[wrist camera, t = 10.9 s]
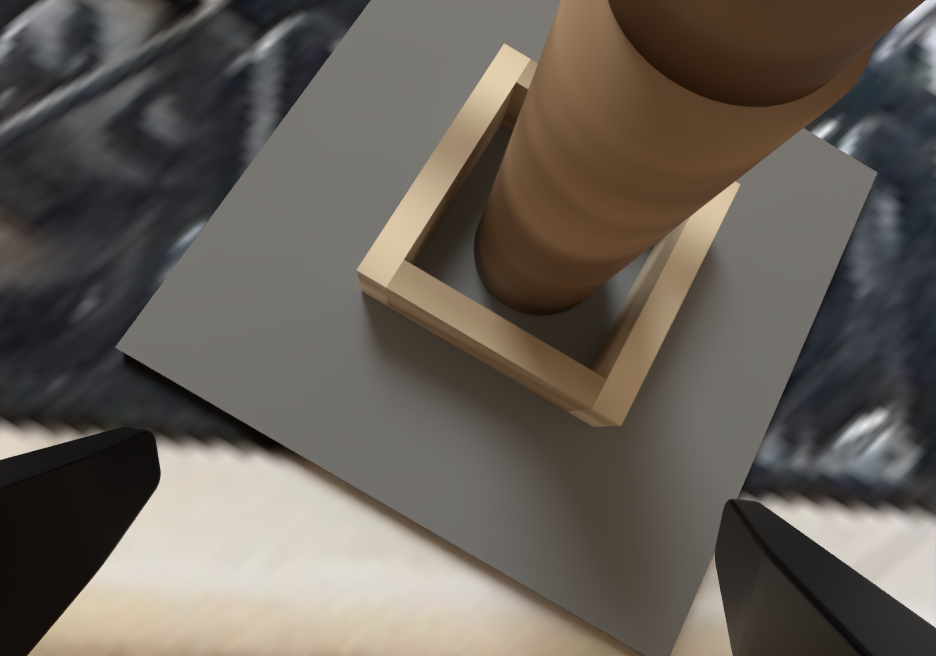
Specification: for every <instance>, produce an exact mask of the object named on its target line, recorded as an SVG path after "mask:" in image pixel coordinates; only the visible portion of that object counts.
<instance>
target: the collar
mask: <svg viewBox="0 0 936 656" xmlns="http://www.w3.org/2000/svg"><path fill="white" fill-rule="evenodd" d="M537 65H538V63H536V62H535V61H533V60H531V59H530V58H528V57H526V56H525V55H523V54H521V53H520V52H518V51H516V50H515V49H513V48H511V47H510V46H508V45H506V44H505V43H504V44H503V46H502V47H501V49H500V51H499V52H498V54H497V55H496V57H495V58H494V60H493V61H492V63H491V64H490V66H489V67H488V69H487V70H486V72H485V74H484V75H483V77H482V78H481V80H480V81H479V83H478V84H477V86H476V87H475V89H474V90H473V92H472V93H471V95H470V97H469V98H468V100H467V101H466V103H465V104H464V106H463V107H462V109H461V110H460V112H459V113H458V115H457V117H456V118H455V120H454V121H453V123H452V124H451V126H450V127H449V129H448V130H447V132H446V133H445V135H444V136H443V138H442V140H441V141H440V143H439V144H438V146H437V147H436V149H435V150H434V152H433V153H432V155H431V156H430V158H429V159H428V161H427V163H426V164H425V166H424V167H423V169H422V170H421V172H420V173H419V175H418V176H417V178H416V179H415V181H414V183H413V184H412V186H411V187H410V189H409V190H408V192H407V193H406V195H405V196H404V198H403V199H402V201H401V202H400V204H399V206H398V207H397V209H396V210H395V212H394V213H393V215H392V216H391V218H390V219H389V221H388V222H387V224H386V225H385V227H384V229H383V230H382V232H381V233H380V235H379V236H378V238H377V239H376V241H375V242H374V244H373V245H372V247H371V249H370V250H369V252H368V253H367V255H366V256H365V258H364V259H363V261H362V262H361V264H360V265H359V267H358V268H357V274H358V279H359V283H360V287H361V291H362V292H364V293H366V294H368V295H369V296H371V297H373V298H374V299H376V300H378V301H379V302H381V303H383V304H385V305H386V306H388V307H390V308H391V309H393V310H395V311H396V312H398V313H400V314H402V315H403V316H405V317H407V318H408V319H410V320H412V321H413V322H415V323H417V324H419V325H420V326H422V327H424V328H425V329H427V330H429V331H430V332H432V333H434V334H436V335H437V336H439V337H441V338H442V339H444V340H446V341H447V342H449V343H451V344H453V345H454V346H456V347H458V348H459V349H461V350H463V351H465V352H466V353H468V354H470V355H471V356H473V357H475V358H476V359H478V360H480V361H482V362H483V363H485V364H487V365H488V366H490V367H492V368H493V369H495V370H497V371H499V372H500V373H502V374H504V375H505V376H507V377H509V378H510V379H512V380H514V381H516V382H517V383H519V384H521V385H522V386H524V387H526V388H527V389H529V390H531V391H533V392H534V393H536V394H538V395H539V396H541V397H543V398H544V399H546V400H548V401H550V402H551V403H553V404H555V405H556V406H558V407H560V408H561V409H563V410H565V411H567V412H568V413H570V414H572V415H573V416H575V417H577V418H578V419H580V420H582V421H584V422H585V423H587V424H589V425H590V426H592V427H604V426H621V425H622V423H623V421H624V419H625V417H626V415H627V413H628V411H629V409H630V407H631V405H632V403H633V401H634V399H635V397H636V395H637V393H638V391H639V389H640V387H641V385H642V383H643V381H644V379H645V377H646V375H647V373H648V371H649V369H650V367H651V365H652V363H653V361H654V359H655V357H656V355H657V353H658V350H659V348H660V346H661V344H662V342H663V340H664V338H665V336H666V334H667V332H668V330H669V328H670V326H671V324H672V322H673V320H674V318H675V316H676V314H677V312H678V310H679V308H680V306H681V304H682V302H683V300H684V298H685V296H686V294H687V292H688V290H689V288H690V286H691V284H692V282H693V280H694V278H695V276H696V274H697V271H698V269H699V267H700V265H701V263H702V261H703V259H704V257H705V255H706V253H707V251H708V249H709V247H710V245H711V243H712V241H713V239H714V237H715V235H716V233H717V231H718V229H719V227H720V225H721V223H722V221H723V219H724V217H725V215H726V213H727V211H728V209H729V207H730V205H731V203H732V201H733V199H734V197H735V194H736V192H737V190H738V188H739V186H740V184H739V183H737V182H736V181H735V182H734V183H733V184H731V185H730V186H729V187H727V188H726V189H725V190H724V191H722V192H721V193H720V194H718V195H717V196H716V197H715V198H713V199H712V200H711V201H709V202H708V203H707V204H706V205H704V206H703V207H702V208H700V209H699V210H698V211H697V212H695V213H694V214H693V215H692V216H690V217H689V218H688V219H686V220H685V221H684V222H683V223H681V224H680V225H679V226H677V227H676V228H675V229H674V230H672V231H671V232H670V233H668V234H667V235H666V236H665V237H663V238H662V239H661V240H660V241H658V242H657V243H656V244H654V246H653V248H652V250H651V252H650V254H649V256H648V258H647V260H646V261H645V263H644V265H643V267H642V269H641V271H640V273H639V275H638V277H637V279H636V281H635V283H634V285H633V286H632V288H631V290H630V292H629V294H628V296H627V298H626V300H625V302H624V304H623V306H622V308H621V310H620V311H619V313H618V315H617V317H616V319H615V321H614V323H613V325H612V327H611V329H610V331H609V333H608V334H607V336H606V338H605V340H604V342H603V344H602V346H601V348H600V350H599V352H598V354H597V356H596V358H595V359H594V361H593V363H592V365H591V367H590V369H589V368H587V367H585V366H584V365H582V364H580V363H578V362H577V361H575V360H573V359H572V358H570V357H568V356H567V355H565V354H563V353H562V352H560V351H558V350H556V349H555V348H553V347H551V346H550V345H548V344H546V343H545V342H543V341H541V340H539V339H538V338H536V337H534V336H533V335H531V334H529V333H528V332H526V331H524V330H522V329H521V328H519V327H517V326H516V325H514V324H512V323H511V322H509V321H507V320H506V319H504V318H502V317H500V316H499V315H497V314H495V313H494V312H492V311H490V310H489V309H487V308H485V307H483V306H482V305H480V304H478V303H477V302H475V301H473V300H472V299H470V298H468V297H467V296H465V295H463V294H461V293H460V292H458V291H456V290H455V289H453V288H451V287H450V286H448V285H446V284H444V283H443V282H441V281H439V280H438V279H436V278H434V277H433V276H431V275H429V274H427V273H426V272H424V271H422V270H421V269H419V268H417V267H416V266H414V265H413V264H414V263H415V261H416V260H417V258H418V256H419V255H420V253H421V252H422V250H423V249H424V247H425V245H426V244H427V242H428V241H429V239H430V237H431V236H432V234H433V233H434V231H435V229H436V228H437V226H438V225H439V223H440V221H441V220H442V218H443V217H444V215H445V213H446V212H447V210H448V209H449V207H450V205H451V204H452V202H453V201H454V199H455V197H456V196H457V194H458V193H459V191H460V189H461V188H462V186H463V185H464V183H465V182H466V180H467V178H468V177H469V175H470V174H471V172H472V170H473V169H474V167H475V166H476V164H477V162H478V161H479V159H480V158H481V156H482V154H483V153H484V151H485V150H486V148H487V146H488V145H489V143H490V142H491V140H492V138H493V137H494V135H495V134H496V132H497V130H498V129H499V127H500V126H501V124H502V123H503V124H504V125H506V126H508V127H509V128H511V129H513V130H514V127H515V124H516V122H517V119H518V116H519V114H520V111H521V108H522V105H523V103H524V100H525V97H526V95H527V92H528V89H529V86H530V84H531V81H532V78H533V76H534V73H535V70H536V67H537Z"/></svg>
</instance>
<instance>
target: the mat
mask: <svg viewBox="0 0 936 656" xmlns="http://www.w3.org/2000/svg"><path fill="white" fill-rule="evenodd" d="M560 2H561V0H371V1H370V2H369V4H368V5H367V6H366V8H365V9H364V10H363V12H362V13H361V14H360V16H359V17H358V19H357V20H356V21H355V23H354V24H353V25H352V27H351V28H350V29H349V31H348V32H347V33H346V35H345V36H344V38H343V39H342V40H341V42H340V43H339V44H338V46H337V47H336V48H335V50H334V51H333V52H332V54H331V55H330V57H329V58H328V59H327V61H326V62H325V63H324V65H323V66H322V67H321V69H320V70H319V71H318V73H317V74H316V76H315V77H314V78H313V80H312V81H311V82H310V84H309V85H308V86H307V88H306V89H305V90H304V92H303V93H302V95H301V96H300V97H299V99H298V100H297V101H296V103H295V104H294V105H293V107H292V108H291V109H290V111H289V112H288V114H287V115H286V116H285V118H284V119H283V120H282V122H281V123H280V124H279V126H278V127H277V128H276V130H275V131H274V133H273V134H272V135H271V137H270V138H269V139H268V141H267V142H266V143H265V145H264V146H263V147H262V149H261V150H260V152H259V153H258V154H257V156H256V157H255V158H254V160H253V161H252V162H251V164H250V165H249V166H248V168H247V169H246V171H245V172H244V173H243V175H242V176H241V177H240V179H239V180H238V181H237V183H236V184H235V185H234V187H233V188H232V190H231V191H230V192H229V194H228V195H227V196H226V198H225V199H224V200H223V202H222V203H221V204H220V206H219V207H218V209H217V210H216V211H215V213H214V214H213V215H212V217H211V218H210V219H209V221H208V222H207V224H206V225H205V226H204V228H203V229H202V230H201V232H200V233H199V234H198V236H197V237H196V238H195V240H194V241H193V243H192V244H191V245H190V247H189V248H188V249H187V251H186V252H185V253H184V255H183V256H182V257H181V259H180V260H179V262H178V263H177V264H176V266H175V267H174V268H173V270H172V271H171V272H170V274H169V275H168V276H167V278H166V279H165V281H164V282H163V283H162V285H161V286H160V287H159V289H158V290H157V291H156V293H155V294H154V295H153V297H152V298H151V300H150V301H149V302H148V304H147V305H146V306H145V308H144V309H143V310H142V312H141V313H140V314H139V316H138V317H137V319H136V320H135V321H134V323H133V324H132V325H131V327H130V328H129V329H128V331H127V332H126V333H125V335H124V336H123V338H122V339H121V340H120V342H119V343H118V344H117V346H116V347H115V348H117V349H119V350H120V351H122V352H124V353H125V354H127V355H129V356H131V357H132V358H134V359H136V360H138V361H139V362H141V363H143V364H144V365H146V366H148V367H150V368H151V369H153V370H155V371H156V372H158V373H160V374H162V375H163V376H165V377H167V378H168V379H170V380H172V381H174V382H175V383H177V384H179V385H180V386H182V387H184V388H186V389H187V390H189V391H191V392H192V393H194V394H196V395H198V396H199V397H201V398H203V399H205V400H206V401H208V402H210V403H211V404H213V405H215V406H217V407H218V408H220V409H222V410H223V411H225V412H227V413H229V414H230V415H232V416H234V417H235V418H237V419H239V420H241V421H242V422H244V423H246V424H247V425H249V426H251V427H253V428H254V429H256V430H258V431H259V432H261V433H263V434H265V435H266V436H268V437H270V438H271V439H273V440H275V441H277V442H278V443H280V444H282V445H284V446H285V447H287V448H289V449H290V450H292V451H294V452H296V453H297V454H299V455H301V456H302V457H304V458H306V459H308V460H309V461H311V462H313V463H314V464H316V465H318V466H320V467H321V468H323V469H325V470H326V471H328V472H330V473H332V474H333V475H335V476H337V477H338V478H340V479H342V480H344V481H345V482H347V483H349V484H351V485H352V486H354V487H356V488H357V489H359V490H361V491H363V492H364V493H366V494H368V495H369V496H371V497H373V498H375V499H376V500H378V501H380V502H381V503H383V504H385V505H387V506H388V507H390V508H392V509H393V510H395V511H397V512H399V513H400V514H402V515H404V516H405V517H407V518H409V519H411V520H412V521H414V522H416V523H418V524H419V525H421V526H423V527H424V528H426V529H428V530H430V531H431V532H433V533H435V534H436V535H438V536H440V537H442V538H443V539H445V540H447V541H448V542H450V543H452V544H454V545H455V546H457V547H459V548H460V549H462V550H464V551H466V552H467V553H469V554H471V555H472V556H474V557H476V558H478V559H479V560H481V561H483V562H484V563H486V564H488V565H490V566H491V567H493V568H495V569H497V570H498V571H500V572H502V573H503V574H505V575H507V576H509V577H510V578H512V579H514V580H515V581H517V582H519V583H521V584H522V585H524V586H526V587H527V588H529V589H531V590H533V591H534V592H536V593H538V594H539V595H541V596H543V597H545V598H546V599H548V600H550V601H551V602H553V603H555V604H557V605H558V606H560V607H562V608H564V609H565V610H567V611H569V612H570V613H572V614H574V615H576V616H577V617H579V618H581V619H582V620H584V621H586V622H588V623H589V624H591V625H593V626H594V627H596V628H598V629H600V630H601V631H603V632H605V633H606V634H608V635H610V636H612V637H613V638H615V639H617V640H618V641H620V642H622V643H624V644H625V645H627V646H629V647H631V648H632V649H634V650H636V651H637V652H639V653H641V654H643V655H644V656H670V654H671V651H672V649H673V647H674V644H675V642H676V640H677V637H678V635H679V633H680V630H681V628H682V626H683V623H684V621H685V619H686V616H687V614H688V612H689V609H690V607H691V605H692V602H693V600H694V598H695V595H696V593H697V591H698V588H699V586H700V584H701V582H702V579H703V577H704V575H705V572H706V570H707V568H708V565H709V563H710V561H711V558H712V556H713V554H714V551H715V546H716V541H717V536H718V532H719V527H720V522H721V517H722V513H723V508H724V505H725V503H726V502H727V501H728V500H729V499H737V498H738V495H739V493H740V491H741V489H742V486H743V484H744V482H745V479H746V477H747V475H748V472H749V470H750V468H751V465H752V463H753V461H754V458H755V456H756V454H757V451H758V449H759V447H760V444H761V442H762V440H763V437H764V435H765V433H766V430H767V428H768V426H769V423H770V421H771V419H772V416H773V414H774V412H775V409H776V407H777V405H778V403H779V400H780V398H781V396H782V393H783V391H784V389H785V386H786V384H787V382H788V379H789V377H790V375H791V372H792V370H793V368H794V365H795V363H796V361H797V358H798V356H799V354H800V351H801V349H802V347H803V344H804V342H805V340H806V337H807V335H808V333H809V330H810V328H811V326H812V323H813V321H814V319H815V317H816V314H817V312H818V310H819V307H820V305H821V303H822V300H823V298H824V296H825V293H826V291H827V289H828V286H829V284H830V282H831V279H832V277H833V275H834V272H835V270H836V268H837V265H838V263H839V261H840V258H841V256H842V254H843V251H844V249H845V247H846V244H847V242H848V240H849V237H850V235H851V233H852V231H853V228H854V226H855V224H856V221H857V219H858V217H859V214H860V212H861V210H862V207H863V205H864V203H865V200H866V198H867V196H868V193H869V191H870V189H871V186H872V184H873V182H874V179H875V177H876V175H877V172H876V171H874V170H872V169H871V168H869V167H867V166H866V165H864V164H862V163H861V162H859V161H857V160H856V159H854V158H852V157H851V156H849V155H847V154H846V153H844V152H842V151H841V150H839V149H837V148H836V147H834V146H832V145H831V144H829V143H827V142H826V141H824V140H822V139H821V138H819V137H817V136H816V135H814V134H812V133H811V132H809V131H807V130H806V129H804V128H803V129H802V130H800V131H799V132H798V133H797V134H795V135H794V136H793V137H791V138H790V139H789V140H788V141H786V142H785V143H784V144H782V145H781V146H780V147H779V148H777V149H776V150H775V151H773V152H772V153H771V154H770V155H768V156H767V157H766V158H765V159H763V160H762V161H761V162H759V163H758V164H757V165H756V166H754V167H753V168H752V169H750V170H749V171H748V172H747V173H745V174H744V175H743V176H741V177H740V178H739V179H738V180H736V182H737V183H739V184H740V186H739V188H738V190H737V192H736V194H735V197H734V199H733V201H732V203H731V205H730V207H729V209H728V211H727V213H726V215H725V217H724V219H723V221H722V223H721V225H720V227H719V229H718V231H717V233H716V235H715V237H714V239H713V241H712V243H711V245H710V247H709V249H708V251H707V253H706V255H705V257H704V259H703V261H702V263H701V265H700V267H699V269H698V271H697V274H696V276H695V278H694V280H693V282H692V284H691V286H690V288H689V290H688V292H687V294H686V296H685V298H684V300H683V302H682V304H681V306H680V308H679V310H678V312H677V314H676V316H675V318H674V320H673V322H672V324H671V326H670V328H669V330H668V332H667V334H666V336H665V338H664V340H663V342H662V344H661V346H660V348H659V350H658V353H657V355H656V357H655V359H654V361H653V363H652V365H651V367H650V369H649V371H648V373H647V375H646V377H645V379H644V381H643V383H642V385H641V387H640V389H639V391H638V393H637V395H636V397H635V399H634V401H633V403H632V405H631V407H630V409H629V411H628V413H627V415H626V417H625V419H624V421H623V423H622V425H621V426H604V427H592V426H590V425H589V424H587V423H585V422H584V421H582V420H580V419H578V418H577V417H575V416H573V415H572V414H570V413H568V412H567V411H565V410H563V409H561V408H560V407H558V406H556V405H555V404H553V403H551V402H550V401H548V400H546V399H544V398H543V397H541V396H539V395H538V394H536V393H534V392H533V391H531V390H529V389H527V388H526V387H524V386H522V385H521V384H519V383H517V382H516V381H514V380H512V379H510V378H509V377H507V376H505V375H504V374H502V373H500V372H499V371H497V370H495V369H493V368H492V367H490V366H488V365H487V364H485V363H483V362H482V361H480V360H478V359H476V358H475V357H473V356H471V355H470V354H468V353H466V352H465V351H463V350H461V349H459V348H458V347H456V346H454V345H453V344H451V343H449V342H447V341H446V340H444V339H442V338H441V337H439V336H437V335H436V334H434V333H432V332H430V331H429V330H427V329H425V328H424V327H422V326H420V325H419V324H417V323H415V322H413V321H412V320H410V319H408V318H407V317H405V316H403V315H402V314H400V313H398V312H396V311H395V310H393V309H391V308H390V307H388V306H386V305H385V304H383V303H381V302H379V301H378V300H376V299H374V298H373V297H371V296H369V295H368V294H366V293H364V292H362V291H361V287H360V283H359V279H358V274H357V268H358V267H359V265H360V264H361V262H362V261H363V259H364V258H365V256H366V255H367V253H368V252H369V250H370V249H371V247H372V245H373V244H374V242H375V241H376V239H377V238H378V236H379V235H380V233H381V232H382V230H383V229H384V227H385V225H386V224H387V222H388V221H389V219H390V218H391V216H392V215H393V213H394V212H395V210H396V209H397V207H398V206H399V204H400V202H401V201H402V199H403V198H404V196H405V195H406V193H407V192H408V190H409V189H410V187H411V186H412V184H413V183H414V181H415V179H416V178H417V176H418V175H419V173H420V172H421V170H422V169H423V167H424V166H425V164H426V163H427V161H428V159H429V158H430V156H431V155H432V153H433V152H434V150H435V149H436V147H437V146H438V144H439V143H440V141H441V140H442V138H443V136H444V135H445V133H446V132H447V130H448V129H449V127H450V126H451V124H452V123H453V121H454V120H455V118H456V117H457V115H458V113H459V112H460V110H461V109H462V107H463V106H464V104H465V103H466V101H467V100H468V98H469V97H470V95H471V93H472V92H473V90H474V89H475V87H476V86H477V84H478V83H479V81H480V80H481V78H482V77H483V75H484V74H485V72H486V70H487V69H488V67H489V66H490V64H491V63H492V61H493V60H494V58H495V57H496V55H497V54H498V52H499V51H500V49H501V47H502V46H503V44H504V43H505V44H506V45H508V46H510V47H511V48H513V49H515V50H516V51H518V52H520V53H521V54H523V55H525V56H526V57H528V58H530V59H531V60H533V61H535V62H536V63H538V62H539V59H540V57H541V54H542V51H543V48H544V46H545V43H546V40H547V37H548V35H549V32H550V29H551V27H552V24H553V21H554V18H555V16H556V13H557V10H558V8H559V5H560ZM512 133H513V129H511V128H509V127H508V126H506V125H504V124H503V123H502V124H501V126H500V127H499V129H498V130H497V132H496V134H495V135H494V137H493V138H492V140H491V142H490V143H489V145H488V146H487V148H486V150H485V151H484V153H483V154H482V156H481V158H480V159H479V161H478V162H477V164H476V166H475V167H474V169H473V170H472V172H471V174H470V175H469V177H468V178H467V180H466V182H465V183H464V185H463V186H462V188H461V189H460V191H459V193H458V194H457V196H456V197H455V199H454V201H453V202H452V204H451V205H450V207H449V209H448V210H447V212H446V213H445V215H444V217H443V218H442V220H441V221H440V223H439V225H438V226H437V228H436V229H435V231H434V233H433V234H432V236H431V237H430V239H429V241H428V242H427V244H426V245H425V247H424V249H423V250H422V252H421V253H420V255H419V256H418V258H417V260H416V261H415V263H414V264H413V265H414V266H416V267H417V268H419V269H421V270H422V271H424V272H426V273H427V274H429V275H431V276H433V277H434V278H436V279H438V280H439V281H441V282H443V283H444V284H446V285H448V286H450V287H451V288H453V289H455V290H456V291H458V292H460V293H461V294H463V295H465V296H467V297H468V298H470V299H472V300H473V301H475V302H477V303H478V304H480V305H482V306H483V307H485V308H487V309H489V310H490V311H492V312H494V313H495V314H497V315H499V316H500V317H502V318H504V319H506V320H507V321H509V322H511V323H512V324H514V325H516V326H517V327H519V328H521V329H522V330H524V331H526V332H528V333H529V334H531V335H533V336H534V337H536V338H538V339H539V340H541V341H543V342H545V343H546V344H548V345H550V346H551V347H553V348H555V349H556V350H558V351H560V352H562V353H563V354H565V355H567V356H568V357H570V358H572V359H573V360H575V361H577V362H578V363H580V364H582V365H584V366H585V367H587V368H589V369H590V367H591V365H592V363H593V361H594V359H595V358H596V356H597V354H598V352H599V350H600V348H601V346H602V344H603V342H604V340H605V338H606V336H607V334H608V333H609V331H610V329H611V327H612V325H613V323H614V321H615V319H616V317H617V315H618V313H619V311H620V310H621V308H622V306H623V304H624V302H625V300H626V298H627V296H628V294H629V292H630V290H631V288H632V286H633V285H634V283H635V281H636V279H637V277H638V275H639V273H640V271H641V269H642V267H643V265H644V263H645V261H646V260H647V258H648V256H649V254H650V252H651V250H652V248H653V246H654V245H653V246H652V247H651V248H649V249H648V250H647V251H645V252H644V253H643V254H642V255H640V256H639V257H638V258H636V259H635V260H634V261H633V262H631V263H630V264H629V265H628V266H626V267H625V268H624V269H622V270H621V271H620V272H619V273H617V274H616V275H615V276H613V277H612V278H611V279H610V280H608V281H607V282H606V283H604V284H603V285H602V286H601V287H599V288H598V289H597V290H596V291H594V292H593V293H592V294H590V295H589V296H588V297H587V298H585V299H584V300H583V301H581V302H580V303H579V304H577V305H576V306H574V307H573V308H571V309H569V310H567V311H564V312H561V313H558V314H553V315H531V314H526V313H523V312H520V311H517V310H514V309H512V308H510V307H508V306H507V305H505V304H504V303H502V302H501V301H500V300H498V299H497V298H496V297H495V296H494V295H493V294H492V293H491V292H490V291H489V290H488V288H487V287H486V286H485V284H484V283H483V281H482V279H481V277H480V275H479V273H478V270H477V267H476V263H475V259H474V239H475V234H476V231H477V228H478V225H479V222H480V220H481V217H482V214H483V211H484V209H485V206H486V203H487V201H488V198H489V195H490V192H491V190H492V187H493V184H494V182H495V179H496V176H497V173H498V171H499V168H500V165H501V163H502V160H503V157H504V154H505V152H506V149H507V146H508V144H509V141H510V138H511V135H512Z"/></svg>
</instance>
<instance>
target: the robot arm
mask: <svg viewBox="0 0 936 656" xmlns="http://www.w3.org/2000/svg"><path fill="white" fill-rule="evenodd" d="M160 476H161V471H160V464H159V458H158V451H157V445H156V439H155V435H154V434H153V432H152V431H150V430H149V429H146V428H138V427H129V426H128V427H121V428H117V429H114V430H110V431H106V432H102V433H99V434H95V435H91V436H88V437H84V438H80V439H77V440H73V441H69V442H65V443H62V444H58V445H54V446H51V447H47V448H43V449H39V450H36V451H32V452H28V453H25V454H21V455H17V456H13V457H10V458H6V459H2V460H0V656H27V655H28V654H29V653H30V652H31V651H32V649H33V648H34V647H35V646H36V645H37V644H38V642H39V641H40V640H41V639H42V638H43V636H44V635H45V634H46V633H47V632H48V630H49V629H50V628H51V627H52V626H53V624H54V623H55V622H56V621H57V620H58V618H59V617H60V616H61V615H62V614H63V613H64V611H65V610H66V609H67V608H68V607H69V605H70V604H71V603H72V602H73V601H74V599H75V598H76V597H77V596H78V595H79V593H80V592H81V591H82V590H83V589H84V587H85V586H86V585H87V584H88V583H89V582H90V580H91V579H92V578H93V577H94V575H95V574H96V573H97V572H98V570H99V569H100V568H101V567H102V565H103V564H104V562H105V561H106V560H107V558H108V557H109V556H110V554H111V553H112V551H113V550H114V549H115V547H116V546H117V544H118V543H119V541H120V540H121V539H122V537H123V536H124V534H125V533H126V531H127V530H128V529H129V527H130V526H131V524H132V523H133V521H134V520H135V519H136V517H137V516H138V514H139V513H140V511H141V510H142V509H143V507H144V506H145V504H146V503H147V501H148V500H149V499H150V497H151V496H152V494H153V493H154V491H155V490H156V488H157V486H158V484H159V481H160ZM715 563H716V569H717V574H718V579H719V585H720V590H721V595H722V601H723V606H724V611H725V617H726V622H727V628H728V633H729V638H730V644H731V649H732V654H733V656H936V628H935V627H934V626H932V625H931V624H930V623H928V622H927V621H925V620H924V619H923V618H921V617H920V616H918V615H917V614H915V613H914V612H913V611H911V610H910V609H908V608H907V607H906V606H904V605H903V604H901V603H900V602H899V601H897V600H896V599H894V598H893V597H892V596H890V595H889V594H887V593H886V592H885V591H883V590H882V589H880V588H879V587H877V586H876V585H875V584H873V583H872V582H870V581H869V580H868V579H866V578H865V577H863V576H862V575H861V574H859V573H858V572H856V571H855V570H854V569H852V568H851V567H849V566H848V565H847V564H845V563H844V562H842V561H841V560H839V559H838V558H837V557H835V556H834V555H832V554H831V553H830V552H828V551H827V550H825V549H824V548H823V547H821V546H820V545H818V544H817V543H816V542H814V541H813V540H811V539H810V538H809V537H807V536H806V535H804V534H803V533H801V532H800V531H799V530H797V529H796V528H794V527H793V526H792V525H790V524H789V523H787V522H786V521H785V520H783V519H782V518H780V517H779V516H778V515H776V514H775V513H773V512H772V511H771V510H769V509H768V508H766V507H765V506H763V505H762V504H761V503H759V502H756V501H749V500H740V499H729V500H728V501H727V502H726V503H725V505H724V508H723V513H722V517H721V522H720V527H719V532H718V536H717V541H716V546H715Z"/></svg>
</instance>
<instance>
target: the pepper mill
mask: <svg viewBox="0 0 936 656" xmlns="http://www.w3.org/2000/svg"><path fill="white" fill-rule="evenodd" d="M924 1H925V0H561V2H560V5H559V8H558V10H557V13H556V16H555V18H554V21H553V24H552V27H551V29H550V32H549V35H548V37H547V40H546V43H545V46H544V48H543V51H542V54H541V57H540V59H539V62H538V65H537V67H536V70H535V73H534V76H533V78H532V81H531V84H530V86H529V89H528V92H527V95H526V97H525V100H524V103H523V105H522V108H521V111H520V114H519V116H518V119H517V122H516V124H515V127H514V130H513V133H512V135H511V138H510V141H509V144H508V146H507V149H506V152H505V154H504V157H503V160H502V163H501V165H500V168H499V171H498V173H497V176H496V179H495V182H494V184H493V187H492V190H491V192H490V195H489V198H488V201H487V203H486V206H485V209H484V211H483V214H482V217H481V220H480V222H479V225H478V228H477V231H476V234H475V239H474V259H475V263H476V267H477V270H478V273H479V275H480V277H481V279H482V281H483V283H484V284H485V286H486V287H487V288H488V290H489V291H490V292H491V293H492V294H493V295H494V296H495V297H496V298H497V299H498V300H500V301H501V302H502V303H504V304H505V305H507V306H508V307H510V308H512V309H514V310H517V311H520V312H523V313H526V314H531V315H553V314H558V313H561V312H564V311H567V310H569V309H571V308H573V307H574V306H576V305H577V304H579V303H580V302H581V301H583V300H584V299H585V298H587V297H588V296H589V295H590V294H592V293H593V292H594V291H596V290H597V289H598V288H599V287H601V286H602V285H603V284H604V283H606V282H607V281H608V280H610V279H611V278H612V277H613V276H615V275H616V274H617V273H619V272H620V271H621V270H622V269H624V268H625V267H626V266H628V265H629V264H630V263H631V262H633V261H634V260H635V259H636V258H638V257H639V256H640V255H642V254H643V253H644V252H645V251H647V250H648V249H649V248H651V247H652V246H653V245H654V244H656V243H657V242H658V241H660V240H661V239H662V238H663V237H665V236H666V235H667V234H668V233H670V232H671V231H672V230H674V229H675V228H676V227H677V226H679V225H680V224H681V223H683V222H684V221H685V220H686V219H688V218H689V217H690V216H692V215H693V214H694V213H695V212H697V211H698V210H699V209H700V208H702V207H703V206H704V205H706V204H707V203H708V202H709V201H711V200H712V199H713V198H715V197H716V196H717V195H718V194H720V193H721V192H722V191H724V190H725V189H726V188H727V187H729V186H730V185H731V184H733V183H734V182H735V181H736V180H738V179H739V178H740V177H741V176H743V175H744V174H745V173H747V172H748V171H749V170H750V169H752V168H753V167H754V166H756V165H757V164H758V163H759V162H761V161H762V160H763V159H765V158H766V157H767V156H768V155H770V154H771V153H772V152H773V151H775V150H776V149H777V148H779V147H780V146H781V145H782V144H784V143H785V142H786V141H788V140H789V139H790V138H791V137H793V136H794V135H795V134H797V133H798V132H799V131H800V130H802V129H803V128H804V127H805V126H807V125H808V124H809V123H811V122H812V121H813V120H814V119H816V118H817V117H818V116H820V115H821V114H822V113H823V112H825V111H826V110H827V109H829V108H830V107H831V106H832V105H834V104H835V103H836V102H837V101H839V100H840V99H841V98H842V97H843V96H844V95H845V94H846V93H847V92H848V91H849V90H850V89H851V88H852V87H853V85H854V84H855V83H856V81H857V80H858V79H859V77H860V76H861V74H862V72H863V71H864V69H865V67H866V65H867V63H868V61H869V58H870V55H871V52H872V49H873V45H874V43H875V42H876V41H878V40H879V39H880V38H881V37H882V36H884V35H885V34H886V33H887V32H888V31H889V30H891V29H892V28H893V27H894V26H895V25H897V24H898V23H899V22H900V21H901V20H903V19H904V18H905V17H906V16H907V15H908V14H910V13H911V12H912V11H913V10H914V9H916V8H917V7H918V6H919V5H920V4H922V3H923V2H924Z"/></svg>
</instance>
